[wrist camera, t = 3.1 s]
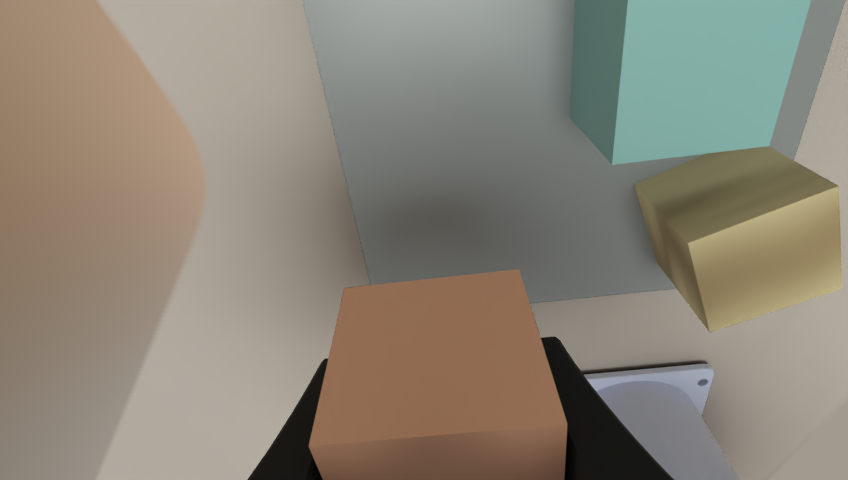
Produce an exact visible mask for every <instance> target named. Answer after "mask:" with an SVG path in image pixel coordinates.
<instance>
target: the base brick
mask: <svg viewBox="0 0 848 480" xmlns="http://www.w3.org/2000/svg"><path fill="white" fill-rule="evenodd" d="M810 2H811V0H575V12H574V35H573V59H572V83H571V106H570V119H571V120H572V121H573V122H574V123H575V124H576V125H577V126H578V128H579V129H580V130H581V131H582V132H583V133H584V134H585V135H586V136H587V138H588V139H589V140H590V141H591V142H592V143H593V144H594V145H595V146H596V148H597V149H598V150H599V151H600V152H601V153H602V154H603V155H604V157H605V158H606V159H607V160H608V161H609V162H610V163H611V164H612V165H615V164H623V163H632V162H640V161H648V160H657V159H665V158H674V157H682V156H690V155H699V154H707V153H715V152H724V151H732V150H740V149H749V148H757V147H765V146H769V145H770V142H771V138H772V135H773V131H774V128H775V124H776V121H777V117H778V114H779V111H780V107H781V104H782V100H783V97H784V93H785V90H786V86H787V83H788V79H789V76H790V72H791V69H792V65H793V62H794V58H795V55H796V51H797V48H798V44H799V41H800V37H801V34H802V30H803V27H804V23H805V20H806V16H807V13H808V9H809V6H810Z"/></svg>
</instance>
